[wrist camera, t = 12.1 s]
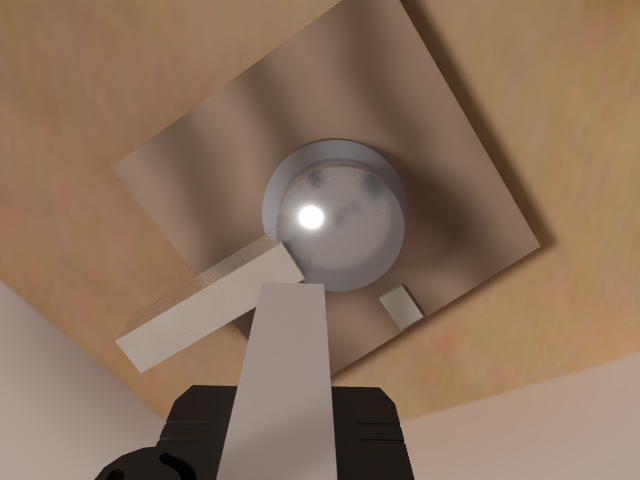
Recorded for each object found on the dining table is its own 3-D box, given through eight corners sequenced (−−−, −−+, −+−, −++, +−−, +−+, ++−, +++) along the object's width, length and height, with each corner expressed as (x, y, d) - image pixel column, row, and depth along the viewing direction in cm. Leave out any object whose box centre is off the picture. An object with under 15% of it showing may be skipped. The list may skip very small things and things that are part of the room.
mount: (377, -23, 32) (386, -35, 29) (528, 238, 37) (551, 253, 34) (83, 190, 35) (61, 201, 32) (261, 404, 40) (258, 433, 37)
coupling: (357, 135, 31) (365, 142, 27) (412, 233, 33) (427, 253, 29) (113, 282, 33) (89, 308, 29) (179, 367, 35) (164, 402, 31)
